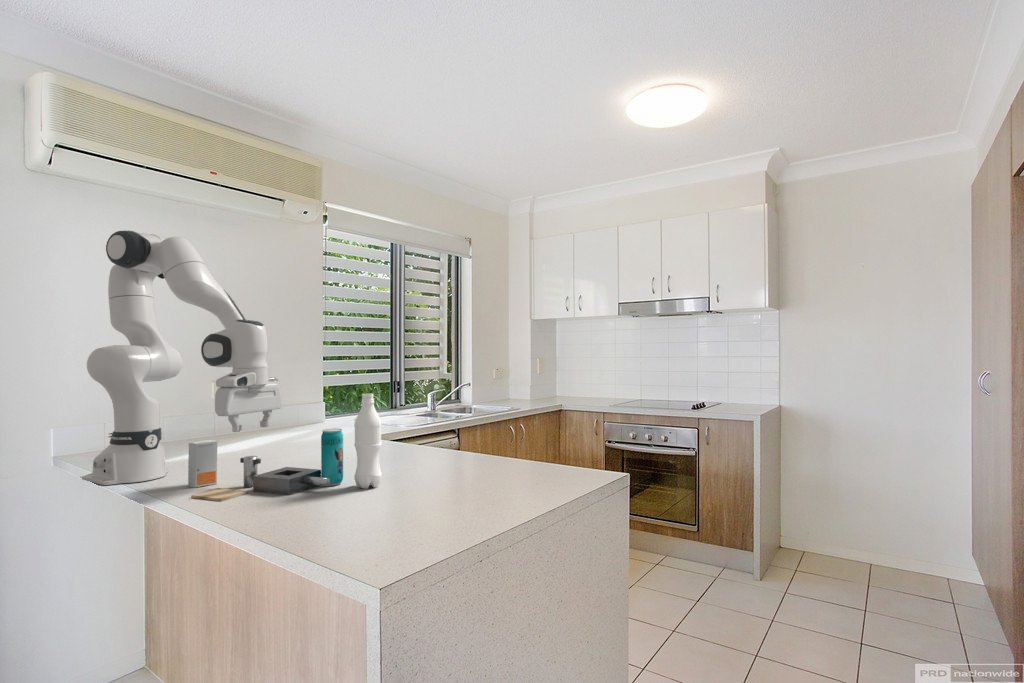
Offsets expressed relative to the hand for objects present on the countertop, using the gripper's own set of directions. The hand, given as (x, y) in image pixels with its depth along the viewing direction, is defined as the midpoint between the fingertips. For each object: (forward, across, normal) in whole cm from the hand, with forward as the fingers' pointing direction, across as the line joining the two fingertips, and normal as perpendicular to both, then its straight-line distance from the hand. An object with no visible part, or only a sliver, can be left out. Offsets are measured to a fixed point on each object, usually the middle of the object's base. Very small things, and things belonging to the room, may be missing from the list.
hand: (251, 429), depth 151 cm
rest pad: (+15, +10, 0) cm, 18 cm away
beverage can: (+16, -9, +20) cm, 27 cm away
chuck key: (+15, 0, 0) cm, 16 cm away
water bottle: (+16, -10, +31) cm, 36 cm away
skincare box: (+16, +3, -14) cm, 21 cm away
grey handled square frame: (+16, -2, +14) cm, 21 cm away
